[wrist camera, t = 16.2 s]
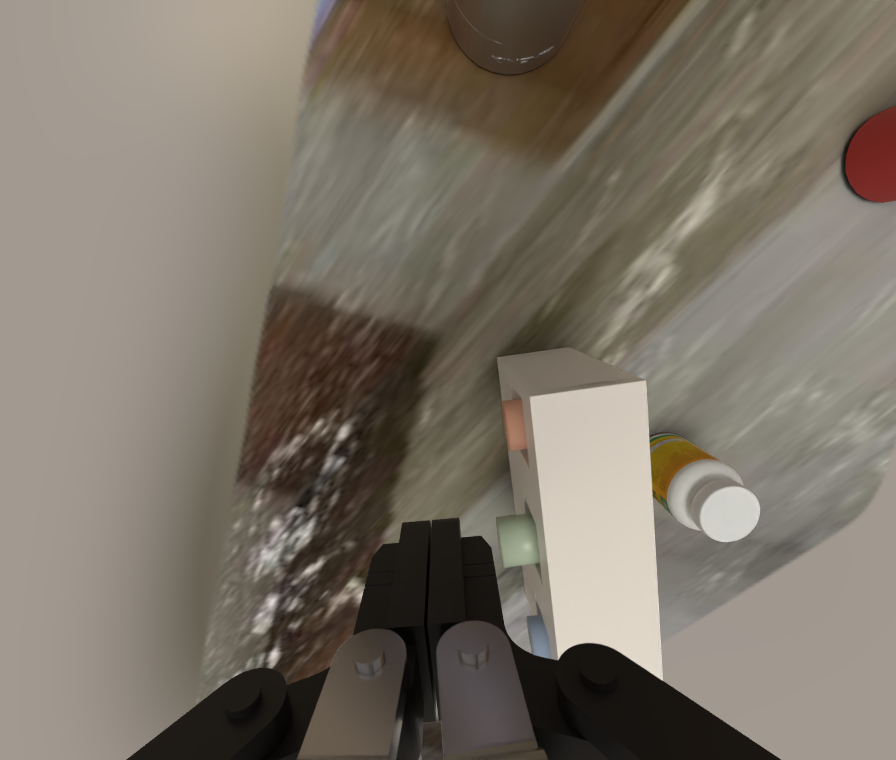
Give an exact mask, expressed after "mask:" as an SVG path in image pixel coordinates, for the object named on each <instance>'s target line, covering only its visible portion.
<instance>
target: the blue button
mask: <svg viewBox="0 0 896 760" xmlns="http://www.w3.org/2000/svg"><path fill="white" fill-rule="evenodd" d="M527 627H528V634H529V640H530V645H531V650H532V654H533V655H537V656H540V657H544V658H549V659H551V655H550V646H549V637H548V634H547V630H546V627H545V624H544V621H543V618H542V614H541V615H534V616H527Z"/></svg>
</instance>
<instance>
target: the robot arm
mask: <svg viewBox="0 0 896 760" xmlns="http://www.w3.org/2000/svg"><path fill="white" fill-rule="evenodd" d="M584 2H585V0H446V9H447V18H448V22H449V25H450V28H451V31H452V34H453V36H454V38H455V40H456V42H457V43H458V45H459V47H460V48H461V49H462V51H463V52H464V53H465V54H466V55H467V56H468V58H470V59H471V60H472V61H473V62H475V63H476V64H477V65H479V66H480V67H482V68H484V69H487V70H489V71H491V72H495V73H499V74H504V75H509V74H521V73H524V72H528V71H532V70H533V69H535V68H537V67H539V66H541V65H543V64H544V63H545V62H547V61H548V60H549V59H550V58H551V57H552V56H554V55H555V53H556V52H557V51H558V50H559V48H560V47H561V46H562V44H563V43H564V41H565V39H566V37H567V35H568V33H569V31H570V29H571V27H572V25H573V23H574V21H575V19H576V17H577V15H578V13H579V11H580V10H581V8H582V6H583V4H584ZM436 700H437V709H438V717H439V721H441V727H442V741H443V755H444V760H781V759H779V758H778V757H776V756H775V755H773V754H772V753H770V752H769V751H767V750H766V749H764V748H763V747H761V746H760V745H758V744H757V743H755V742H754V741H752V740H751V739H749V738H748V737H746V736H745V735H743V734H742V733H740V732H739V731H737V730H736V729H734V728H733V727H731V726H730V725H728V724H727V723H725V722H724V721H722V720H721V719H719V718H718V717H716V716H715V715H713V714H712V713H710V712H709V711H707V710H706V709H704V708H703V707H701V706H700V705H698V704H697V703H695V702H694V701H692V700H691V699H689V698H688V697H686V696H685V695H683V694H682V693H680V692H679V691H677V690H676V689H674V688H673V687H671V686H670V685H668V684H667V683H665V682H664V681H662V680H661V679H659V678H658V677H656V676H655V675H653V674H652V673H650V672H649V671H647V670H646V669H644V668H643V667H641V666H640V665H638V664H637V663H635V662H634V661H632V660H631V659H629V658H628V657H626V656H625V655H623V654H622V653H620V652H618V651H617V650H615V649H613V648H611V647H608V646H605V645H602V644H596V643H582V644H578V645H574V646H572V647H570V648H568V649H567V650H566V651H564V653H563V654H562V655H561V656H560V658H559V660H554V659H549V658H544V657H540V656H537V655H533V654H531V653H529V652H526V651H525V650H523V649H521V648H520V647H519V646H517V645H516V644H515V643H514V642H513V641H512V640H511V638H510V637H509V635H508V634H507V632H506V629H505V625H504V620H503V614H502V608H501V602H500V596H499V590H498V585H497V579H496V573H495V567H494V561H493V555H492V549H491V547H490V546H489V544H488V543H487V542H486V541H485V540H484V539H483V538H482V536H474V537H462V538H461V530H460V520H459V518H450V519H439V520H432V528H431V522H430V520H428V521H416V522H405V523H402V527H401V533H400V540H399V543H392V544H383V545H382V546H381V547H380V548H379V550H378V551H377V552H376V553H375V555H374V556H373V557H372V559H371V563H370V567H369V571H368V576H367V580H366V584H365V589H364V592H363V596H362V600H361V604H360V609H359V613H358V617H357V621H356V625H355V629H354V633H353V636H352V637H351V638H349V639H348V640H347V641H346V642H344V643H343V644H342V646H341V647H340V648H339V649H338V651H337V652H336V654H335V656H334V658H333V661H332V664H331V666H330V667H329V668H327V669H325V670H324V671H322V672H320V673H318V674H315V675H313V676H310V677H308V678H305V679H302V680H300V681H297V682H294V683H291V684H289V685H286V681H285V679H284V677H283V676H282V675H281V673H279V672H278V671H276V670H273V669H269V668H257V669H252V670H249V671H246V672H243V673H241V674H239V675H237V676H235V677H233V678H232V679H230V680H229V681H227V682H226V683H225V684H223V685H222V686H221V687H219V688H218V689H217V690H216V691H214V692H213V693H212V694H210V695H209V696H208V697H207V698H205V699H204V700H203V701H201V702H200V703H199V704H198V705H196V706H195V707H194V708H192V709H191V710H190V711H189V712H187V713H186V714H185V715H184V716H182V717H181V718H180V719H178V720H177V721H176V722H174V723H173V724H172V725H170V726H169V727H168V728H167V729H165V730H164V731H163V732H162V733H160V734H159V735H158V736H156V737H155V738H154V739H152V740H151V741H150V742H149V743H147V744H146V745H145V746H143V747H142V748H141V749H140V750H138V751H137V752H136V753H134V754H133V755H132V756H131V757H129V758H128V759H127V760H421V750H422V739H423V722H432V721H436Z"/></svg>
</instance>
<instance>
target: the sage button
mask: <svg viewBox="0 0 896 760" xmlns="http://www.w3.org/2000/svg"><path fill="white" fill-rule="evenodd" d="M496 526H497V533H498V540H499V546H500V552H501V558H502V563H503V567H504V568H506V567H513V566H521V565H528V564H536V563H540V557H539V548H538V539H537V530H536V524H535V521H534V519H533V516H532V514H531V513H525V514H517V515H510V516H503V517H496Z"/></svg>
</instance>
